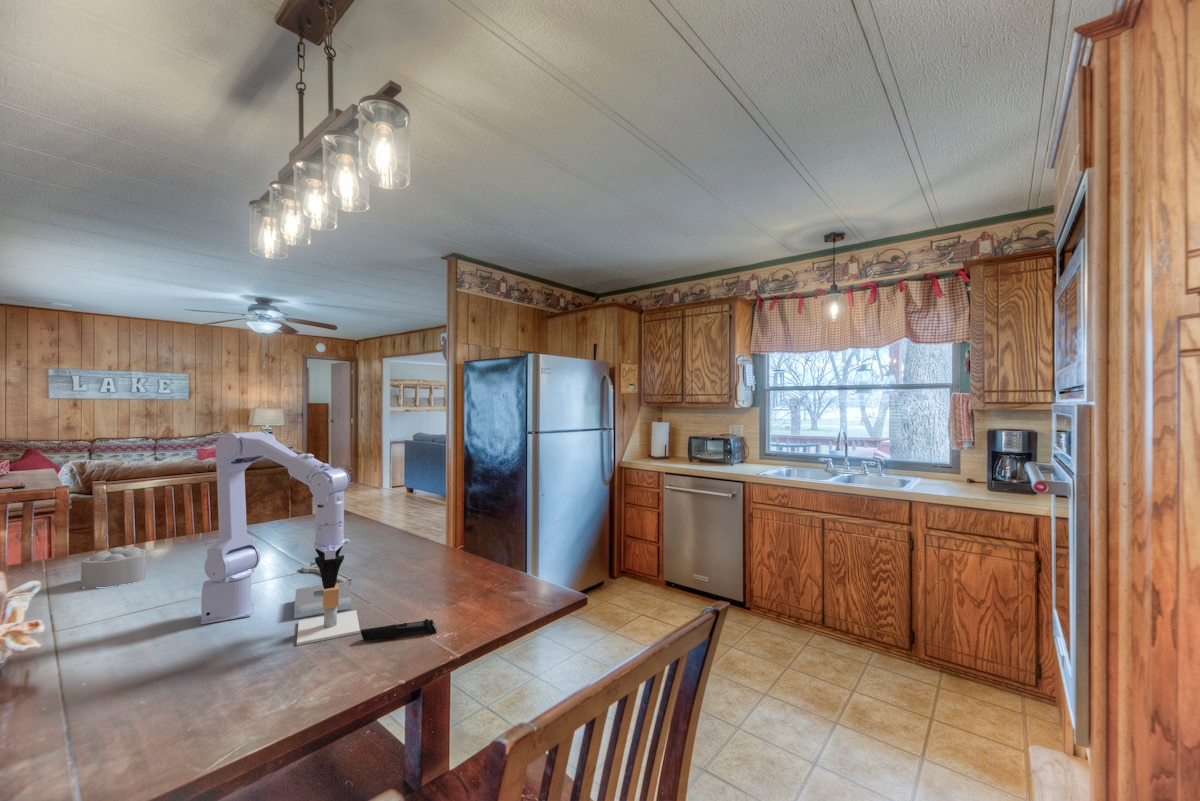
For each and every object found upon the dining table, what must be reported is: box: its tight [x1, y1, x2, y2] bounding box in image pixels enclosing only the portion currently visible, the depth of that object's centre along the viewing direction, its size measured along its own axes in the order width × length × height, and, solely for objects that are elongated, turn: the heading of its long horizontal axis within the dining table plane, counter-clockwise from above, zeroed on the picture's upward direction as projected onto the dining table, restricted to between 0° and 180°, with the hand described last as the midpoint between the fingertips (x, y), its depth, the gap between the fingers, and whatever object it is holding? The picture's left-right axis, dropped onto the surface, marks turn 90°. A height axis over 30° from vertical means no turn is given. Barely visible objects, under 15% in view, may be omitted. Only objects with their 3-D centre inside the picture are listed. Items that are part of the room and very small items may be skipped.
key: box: [323, 585, 339, 628], centre depth 113 cm, size 3×3×8 cm
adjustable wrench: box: [301, 560, 355, 586], centre depth 146 cm, size 25×6×2 cm, turn 50°
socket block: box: [293, 581, 352, 620], centre depth 126 cm, size 12×12×3 cm
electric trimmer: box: [360, 618, 437, 642], centre depth 110 cm, size 4×16×3 cm, turn 110°
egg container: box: [80, 546, 147, 588], centre depth 140 cm, size 10×13×9 cm
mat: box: [296, 609, 361, 647], centre depth 113 cm, size 12×12×1 cm
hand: (329, 582), depth 113 cm, fingers open, 7 cm apart
